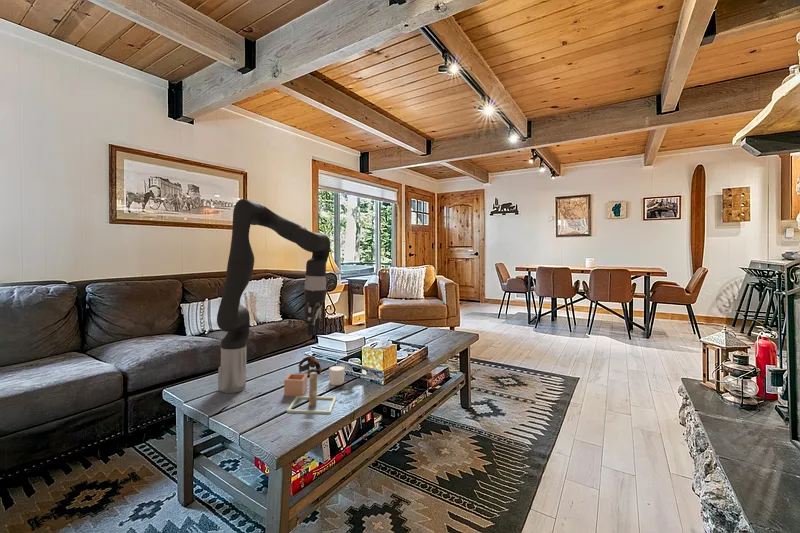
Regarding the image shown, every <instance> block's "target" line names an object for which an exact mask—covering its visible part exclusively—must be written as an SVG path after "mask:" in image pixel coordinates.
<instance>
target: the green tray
mask: <svg viewBox="0 0 800 533" xmlns="http://www.w3.org/2000/svg"><path fill="white" fill-rule="evenodd" d="M294 397H295V398H294V399H293V400H292V401H291V403H290V405H289V406H288V408H287V409H286V413H293V414H294V413H295V414H296V413H298V414H325V415H326V414H327V415H330V414H332V412H333V411H332V410H333V408H334V407H335V406H334V405H335V403H336V400H337V396H322V395H321V396H317V400H329V401H330V400H331V401H332V402H331V404H330V406H329V407H328V410H325V409H323V410H320V409H293V407H294V405H295V404H296V403H297V401H298V399H300V400H303V399H304V400H305V399H306V400H309V395H303V396H294Z"/></svg>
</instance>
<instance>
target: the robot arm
mask: <svg viewBox="0 0 800 533" xmlns="http://www.w3.org/2000/svg"><path fill="white" fill-rule="evenodd" d="M232 212H233V213H232V226H231V227H232V229H231V230H232V231H231V240H230V249H229V255H228V261H227V267H226V274H225V281H224V285H223V286H224V287H223V290H222V297H221V299H220V304H219V307H218V310H217V314H216V324H217V326H218V329H219V330H221V331H222V332H224V333H226V332H227V333H226V335H225V336H223V338H222V339H221V341H220V342H221V343H220V366H219V367H218V370H217V372H218V373H217V374H218V377H217V378H218V379H217V391H218V392H221V393H225V394H232V393H233V394H234V393H238V392H242V391H243V390H245V389H246V388H247V341H249V340H248V339H249V337H250V325H251V324H250V322H251V316H250V311H249V310H248V309H247V307H246V306H244V305H241V304H240V303H241V302H240V301H241V297H242V295H243V294H244V291H245V290H246V288H247V286H248V284H249V283H250V281H251V279H252V276H253V273H254V267H255V255H254V254H255V253H254V251H253V248H252V246H251V242H250V229H251V226H261V227H265V228H268V229H270V230H273V231H274V232H275V233H276V234H278V236H280V237H281V238H283V239H285V240H287V241H289V242H292V243H294V244H296V245H297V246H298V247H300V248H301V249H303V250H305V251H306V252H309V253H312V255H311V258H309V259H308V260H307V261H306V264H305V265H306V266H305V277H304V278H305V279H304V292H303V293H304V294H303V297H304V298H303V299H304V301H305V302H307V303H309V306H306V308H305V310H306V311H305V325H307V330H306V331H307V336H314V335H315V330H316V331H317V330H320V328H321V327H320V326H321V318H322V316H323V302H325V301H326V291H327V278H326V273H327V263H328V260H329V256H330V251H331V239H330V237H329V236H328V235H327V234H325V233H320V232H315V231H311V230H309V229H308V228H307V227H305V226H303V225H302V224H300V223H298V222H295V221H293V220H290V219H288V218H286V217H283V216H281V215H279V214H277V213H276V212H275V211H272V210H271V209H269V208H268V207H267V206H266V205H264V204H263V203H261V202H258V201H257V200H256V201H255V200H250V199H245V198H242V199H239V200H238V201H236V203H235V205H234V207H233V211H232Z"/></svg>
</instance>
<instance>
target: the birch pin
mask: <svg viewBox="0 0 800 533" xmlns="http://www.w3.org/2000/svg"><path fill="white" fill-rule="evenodd" d="M308 393H309V395H308V396H309V399H308V407H309V408H315V407H317V400H318V399H317V395H318V372H316V371H312V372H309V392H308Z"/></svg>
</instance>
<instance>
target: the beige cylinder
mask: <svg viewBox="0 0 800 533" xmlns="http://www.w3.org/2000/svg"><path fill="white" fill-rule="evenodd" d="M345 372H346V367H345V366H343V365H332V366H330V367H329V368H328V375H329V376H328V378H329V384H330V385H332V386H341V385H343V384H344V382H345V374H346V373H345Z"/></svg>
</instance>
